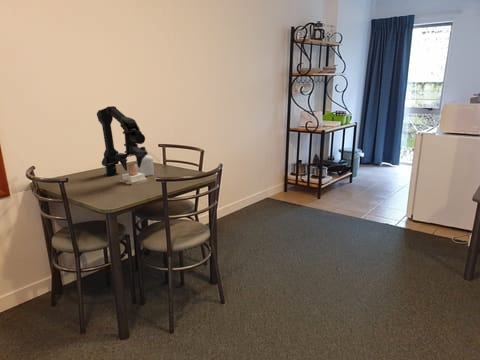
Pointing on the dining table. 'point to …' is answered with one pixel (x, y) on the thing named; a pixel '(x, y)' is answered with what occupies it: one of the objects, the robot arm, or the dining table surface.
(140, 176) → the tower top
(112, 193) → the dining table surface
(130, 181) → the tower base
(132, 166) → the pink small block
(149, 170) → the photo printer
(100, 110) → the robot arm
